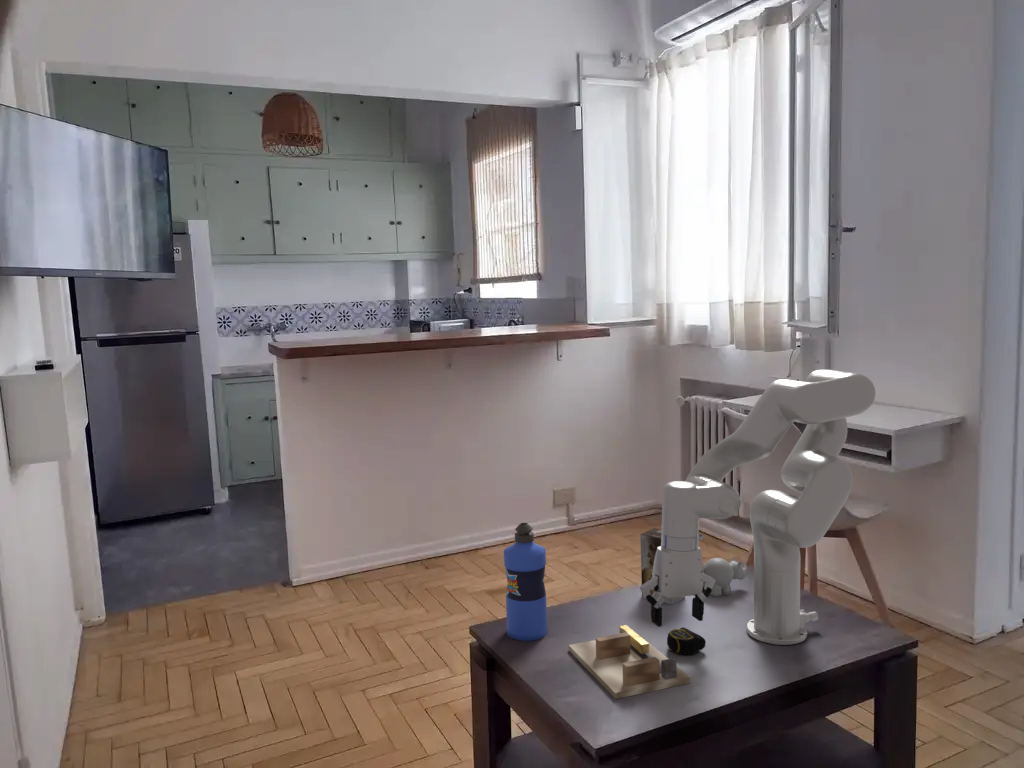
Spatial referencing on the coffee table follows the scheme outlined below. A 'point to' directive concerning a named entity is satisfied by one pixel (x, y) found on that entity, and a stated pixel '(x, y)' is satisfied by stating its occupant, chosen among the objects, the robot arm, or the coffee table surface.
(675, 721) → the coffee table surface
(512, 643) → the coffee table surface
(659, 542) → the coffee box
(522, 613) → the water bottle
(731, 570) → the white animal figurine
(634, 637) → the yellow bar
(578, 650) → the dock
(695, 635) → the tape measure
